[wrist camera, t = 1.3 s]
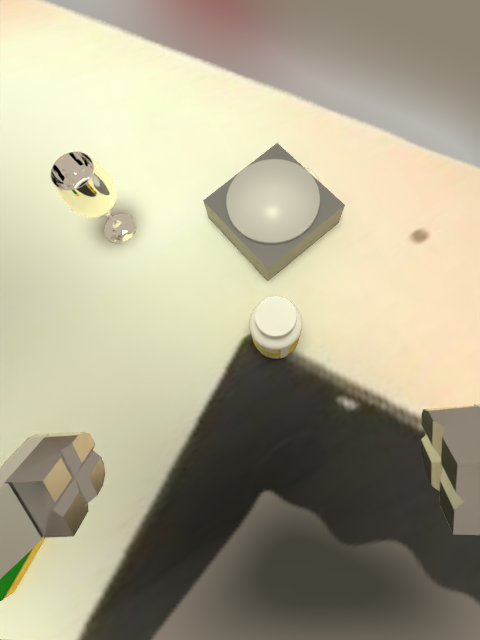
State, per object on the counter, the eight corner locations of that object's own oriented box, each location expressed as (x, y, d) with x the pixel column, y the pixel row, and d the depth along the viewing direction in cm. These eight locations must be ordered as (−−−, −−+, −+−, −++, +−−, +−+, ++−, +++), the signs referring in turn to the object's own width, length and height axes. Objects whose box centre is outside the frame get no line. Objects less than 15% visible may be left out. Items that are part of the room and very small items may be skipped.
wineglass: (130, 202, 49) (86, 137, 37) (147, 234, 47) (107, 177, 36) (93, 222, 49) (37, 163, 37) (109, 255, 47) (57, 205, 36)
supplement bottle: (289, 309, 43) (293, 281, 34) (304, 351, 42) (314, 333, 32) (246, 323, 43) (240, 298, 34) (260, 365, 42) (257, 352, 32)
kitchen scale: (208, 217, 47) (202, 196, 43) (280, 161, 48) (280, 135, 44) (267, 280, 44) (267, 265, 40) (341, 219, 45) (349, 198, 41)
